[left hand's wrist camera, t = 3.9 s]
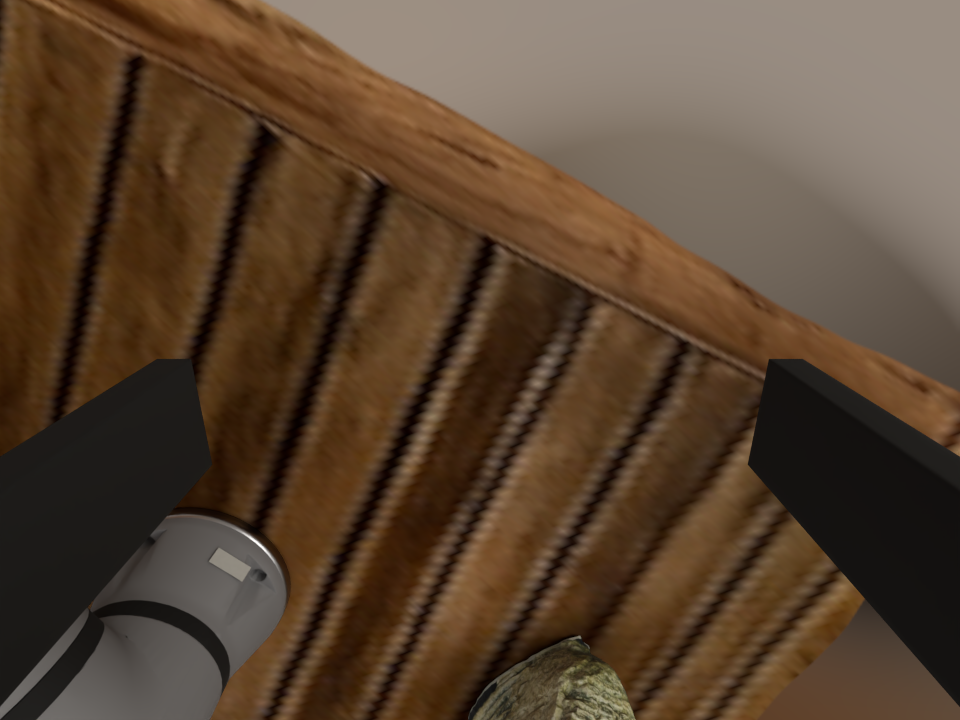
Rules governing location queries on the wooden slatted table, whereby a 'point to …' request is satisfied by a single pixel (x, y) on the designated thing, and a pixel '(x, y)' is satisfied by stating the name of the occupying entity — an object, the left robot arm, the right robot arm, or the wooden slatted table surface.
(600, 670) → the fossil
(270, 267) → the wooden slatted table surface
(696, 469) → the wooden slatted table surface
